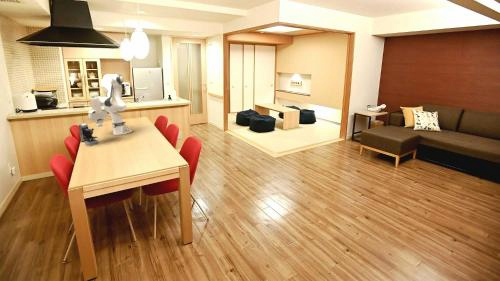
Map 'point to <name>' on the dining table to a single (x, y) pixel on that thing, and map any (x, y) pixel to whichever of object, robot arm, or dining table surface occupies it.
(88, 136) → the vintage camera
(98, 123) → the lens
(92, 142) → the lens mount
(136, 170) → the dining table surface
